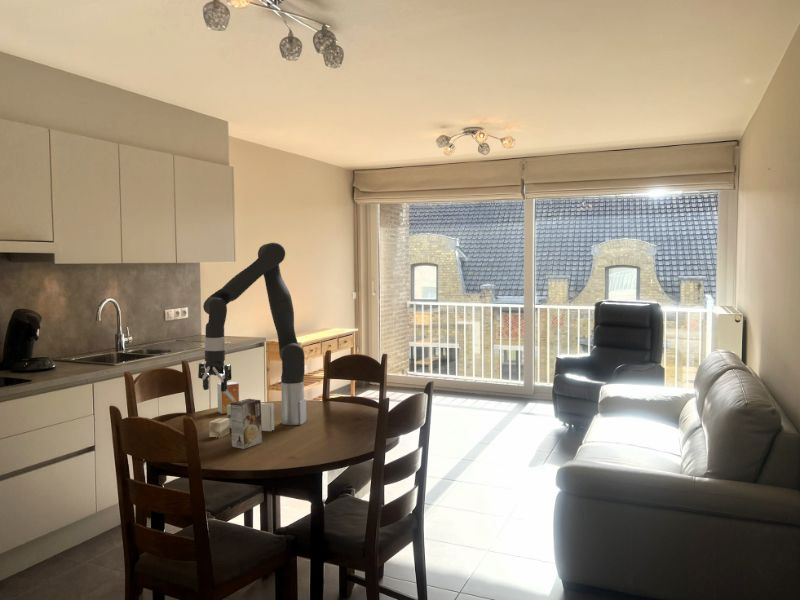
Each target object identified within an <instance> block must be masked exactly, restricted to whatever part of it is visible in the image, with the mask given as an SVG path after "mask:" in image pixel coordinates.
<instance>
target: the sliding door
mask: <svg viewBox="0 0 800 600" xmlns="http://www.w3.org/2000/svg"><path fill="white" fill-rule="evenodd" d="M226 418H229V425H230V429H232V427H231V405H227V413H226Z"/></svg>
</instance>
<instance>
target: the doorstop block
mask: <svg viewBox="0 0 800 600" xmlns="http://www.w3.org/2000/svg"><path fill="white" fill-rule="evenodd" d="M208 425H209V426H208V427H209V438H210V437H216V438H215V439H222V438H223V436H224V437H226V436H227V434H228V435H230V434H231V433H230V431H231V430H230V429H231V428H230V425H229V418H227V417H226V418H225V417H219V418H216V419H214V420H213V419H212V420H211V421H209V422H208ZM229 433H230V434H229ZM225 435H226V436H225ZM217 437H218V438H217ZM221 437H222V438H221Z"/></svg>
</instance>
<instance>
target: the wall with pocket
mask: <svg viewBox="0 0 800 600" xmlns="http://www.w3.org/2000/svg"><path fill="white" fill-rule="evenodd" d="M261 427H262V432H272V430H273V431H275V403H274V402H261Z"/></svg>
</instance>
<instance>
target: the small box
mask: <svg viewBox="0 0 800 600" xmlns="http://www.w3.org/2000/svg"><path fill="white" fill-rule="evenodd" d="M216 389H217V412H218V413H219V414H222V415H223V414H227V405H231V403H233V402H237V401H240V386H239V383H238V382H236V381H230V382H229V381H227V390H226V391H225V392H221V382H219V383H217V388H216Z"/></svg>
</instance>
